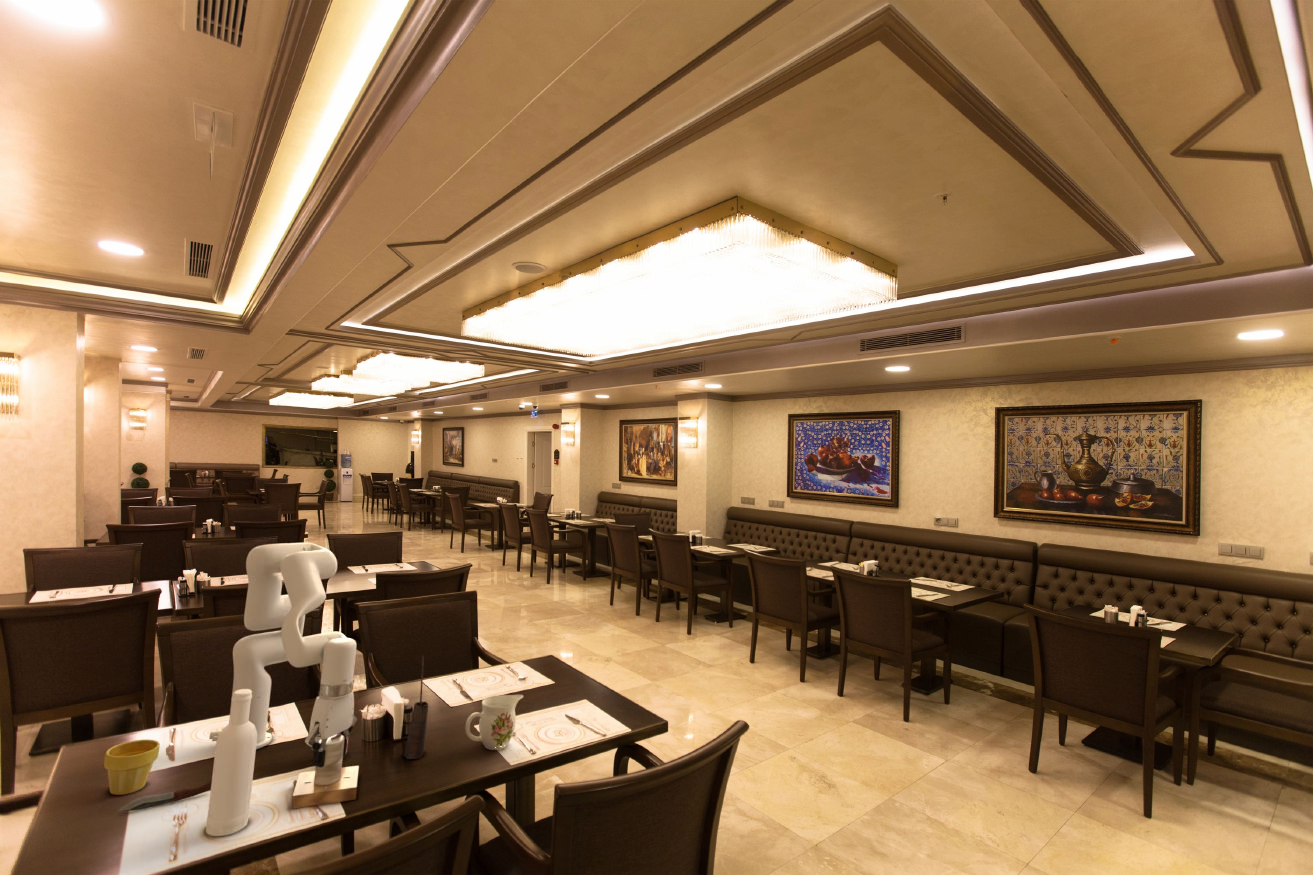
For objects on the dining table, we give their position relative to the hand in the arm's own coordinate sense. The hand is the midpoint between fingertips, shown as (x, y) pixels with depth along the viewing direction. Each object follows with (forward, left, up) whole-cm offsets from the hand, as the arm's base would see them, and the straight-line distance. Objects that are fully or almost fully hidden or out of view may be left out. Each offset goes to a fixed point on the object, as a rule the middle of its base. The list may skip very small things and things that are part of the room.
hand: (329, 759), depth 153 cm
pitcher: (+44, +15, -8) cm, 47 cm away
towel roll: (0, 0, -5) cm, 5 cm away
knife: (-34, +5, -8) cm, 35 cm away
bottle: (-19, -10, -8) cm, 23 cm away
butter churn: (+22, +14, -8) cm, 27 cm away
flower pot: (-45, +16, -8) cm, 48 cm away
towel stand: (0, 0, -8) cm, 8 cm away
